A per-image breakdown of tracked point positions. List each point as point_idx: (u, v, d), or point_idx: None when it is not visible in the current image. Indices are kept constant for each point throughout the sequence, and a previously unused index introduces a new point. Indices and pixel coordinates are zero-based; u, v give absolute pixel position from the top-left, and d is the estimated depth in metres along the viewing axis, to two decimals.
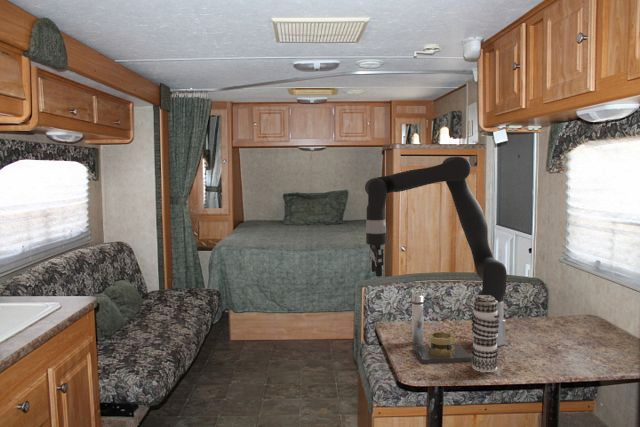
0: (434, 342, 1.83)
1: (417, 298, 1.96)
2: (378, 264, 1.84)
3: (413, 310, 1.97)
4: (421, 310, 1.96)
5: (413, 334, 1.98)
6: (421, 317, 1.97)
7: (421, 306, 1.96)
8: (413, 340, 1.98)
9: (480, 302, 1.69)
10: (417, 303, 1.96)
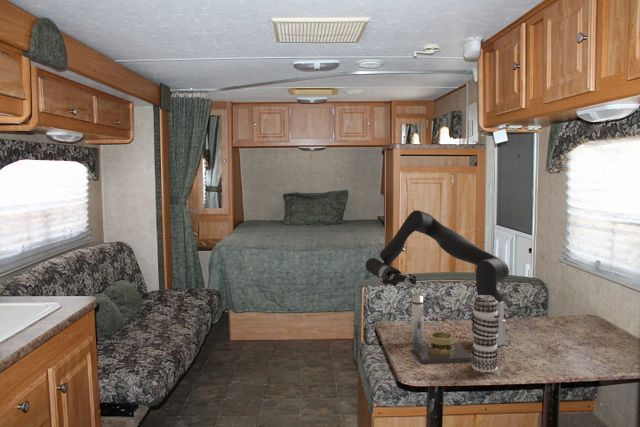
0: (434, 342, 1.83)
1: (417, 298, 1.96)
2: (385, 283, 2.11)
3: (413, 310, 1.97)
4: (421, 310, 1.96)
5: (413, 334, 1.98)
6: (421, 317, 1.97)
7: (421, 306, 1.96)
8: (413, 340, 1.98)
9: (480, 302, 1.69)
10: (417, 303, 1.96)
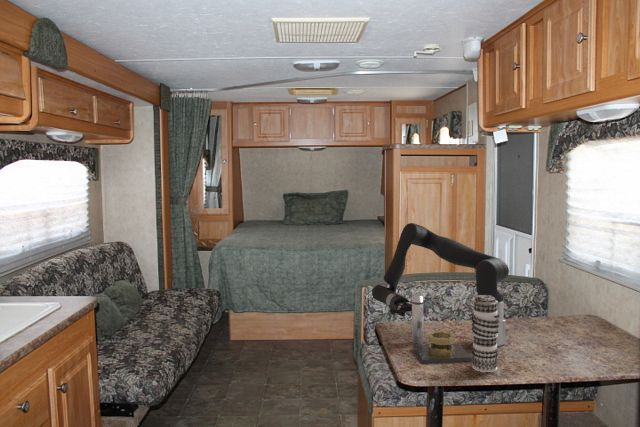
0: (434, 342, 1.83)
1: (417, 298, 1.96)
2: (392, 313, 2.05)
3: (413, 310, 1.97)
4: (421, 310, 1.96)
5: (413, 334, 1.98)
6: (421, 317, 1.97)
7: (421, 306, 1.96)
8: (413, 340, 1.98)
9: (480, 302, 1.69)
10: (417, 303, 1.96)
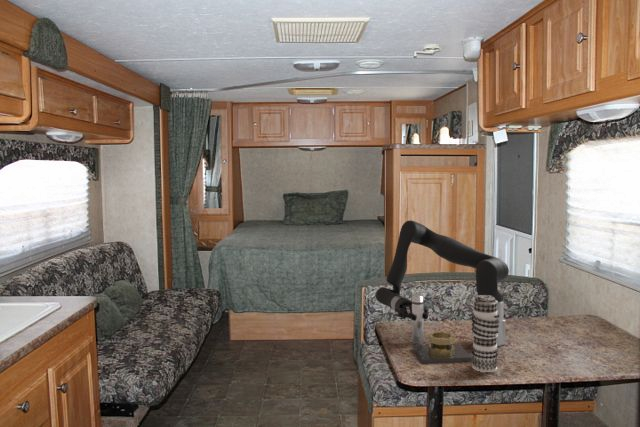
0: (434, 342, 1.83)
1: (417, 298, 1.96)
2: (403, 316, 1.99)
3: (413, 310, 1.97)
4: (421, 310, 1.96)
5: (413, 334, 1.98)
6: (421, 317, 1.97)
7: (421, 306, 1.96)
8: (413, 340, 1.98)
9: (480, 302, 1.69)
10: (417, 303, 1.96)
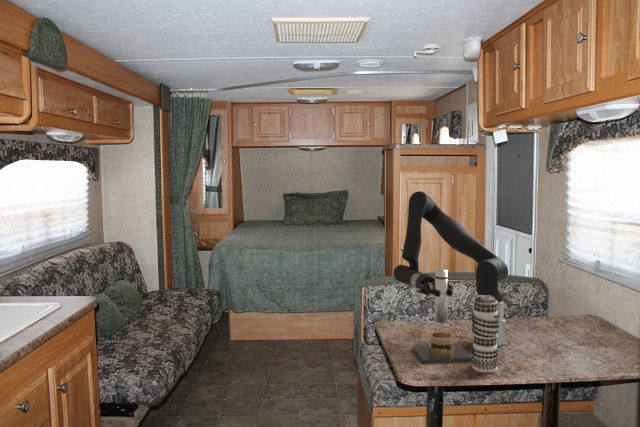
0: (434, 342, 1.83)
1: (441, 272, 1.81)
2: (425, 293, 1.85)
3: (437, 285, 1.83)
4: (445, 285, 1.82)
5: (436, 311, 1.83)
6: (445, 293, 1.82)
7: (445, 281, 1.82)
8: (436, 318, 1.84)
9: (480, 302, 1.69)
10: (441, 278, 1.81)
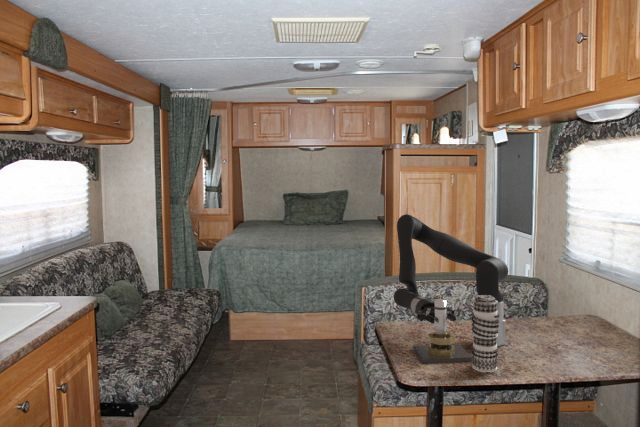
0: (434, 342, 1.83)
1: (440, 303, 1.83)
2: (420, 319, 1.86)
3: (436, 316, 1.84)
4: (445, 315, 1.83)
5: None
6: (445, 323, 1.83)
7: (445, 311, 1.83)
8: None
9: (480, 302, 1.69)
10: (440, 308, 1.83)
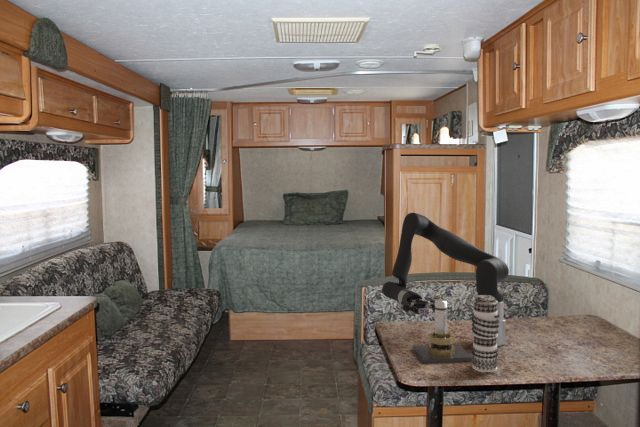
0: (434, 342, 1.83)
1: (441, 304, 1.82)
2: (405, 309, 1.98)
3: (436, 316, 1.83)
4: (445, 316, 1.83)
5: None
6: (445, 324, 1.83)
7: (445, 312, 1.83)
8: None
9: (480, 302, 1.69)
10: (441, 309, 1.82)
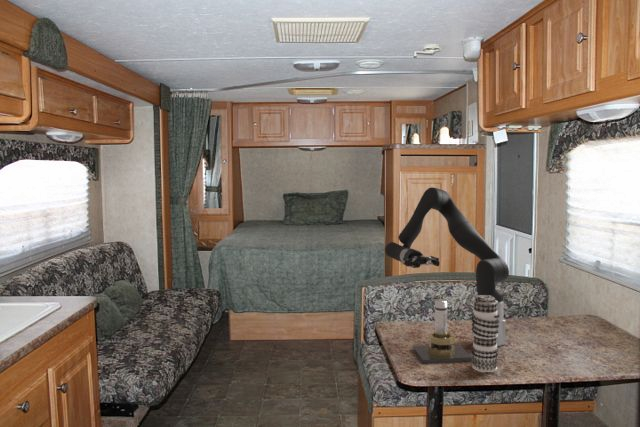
0: (434, 342, 1.83)
1: (441, 304, 1.82)
2: (407, 264, 2.06)
3: (436, 316, 1.83)
4: (445, 316, 1.83)
5: None
6: (445, 324, 1.83)
7: (445, 312, 1.82)
8: None
9: (480, 302, 1.69)
10: (441, 309, 1.82)
